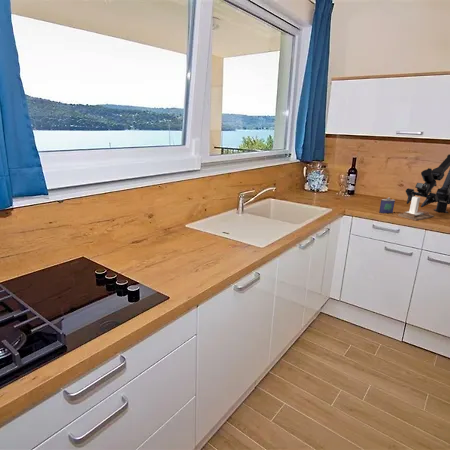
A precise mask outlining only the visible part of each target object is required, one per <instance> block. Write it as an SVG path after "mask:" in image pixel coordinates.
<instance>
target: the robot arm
mask: <svg viewBox="0 0 450 450" xmlns="http://www.w3.org/2000/svg"><path fill="white" fill-rule="evenodd" d="M447 170H448V172H447ZM446 172H447V175H446V177H445V173H446ZM420 175H421V177H422V180H423V181H424V183H422V182H416V185H415V189H416V191H415V189H414V188H406V190H405V193H406V196H407V199H406V204H407V205H408V204H410V203H411V201H412V197H414V196H416V197H420V198H425V199H424V201H423V202H422V203H421V205H420V208H423V207H427V205H430V204H434V203H436V207H435V208H433V211H435V212H437V213H447V214H449V212H448V211H447V208H448V205H450V153H449V154H447V155H446V157H445V159H443V161H442V162H441V163H440V165H438V166H437V167H434V168H433V169H432V168H431V167H430V168H429V167H428V168H427V169H424V170H422V171H421V174H420ZM444 177H445V180H444V182H443V183H442V187H440V188H437V189H436V192H435V193H434V192H432V190H433V188H434V187H437V186H438V184H437V181H439V182H440V181H441V180H443V178H444Z"/></svg>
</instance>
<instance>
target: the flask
mask: <svg viewBox="0 0 450 450" xmlns="http://www.w3.org/2000/svg"><path fill="white" fill-rule="evenodd" d="M395 203H396V200H395V199H391V197H390V196H389V197H387V198H383V199H380V206H379V211H378V213H379V214H385V215H386V214H393V213H394V207H395Z"/></svg>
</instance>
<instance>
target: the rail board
mask: <svg viewBox="0 0 450 450" xmlns="http://www.w3.org/2000/svg"><path fill="white" fill-rule="evenodd" d="M407 212H408V211H403V213H398V214H397V216H398V217H399V218H405V219H408V218H409V219H408V220H411V219H412V221H421V220H425V219H426V220H427V219H430V218H434V217H435V215H433V214H430V211H428V210H427V211H426V210H423V209H419V208H418V211H417V213H421V214H420V215H416V216H415V214H411V213H407Z"/></svg>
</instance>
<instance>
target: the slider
mask: <svg viewBox="0 0 450 450" xmlns="http://www.w3.org/2000/svg"><path fill="white" fill-rule="evenodd" d="M420 202H421V196H417V195H415V196H414V197H412V200H411V201H410V205H409V210H407V211H406V212H407V213H411V214H415V216H416V215H420V214H421V213H417V211H418V209H419V206H420Z"/></svg>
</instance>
